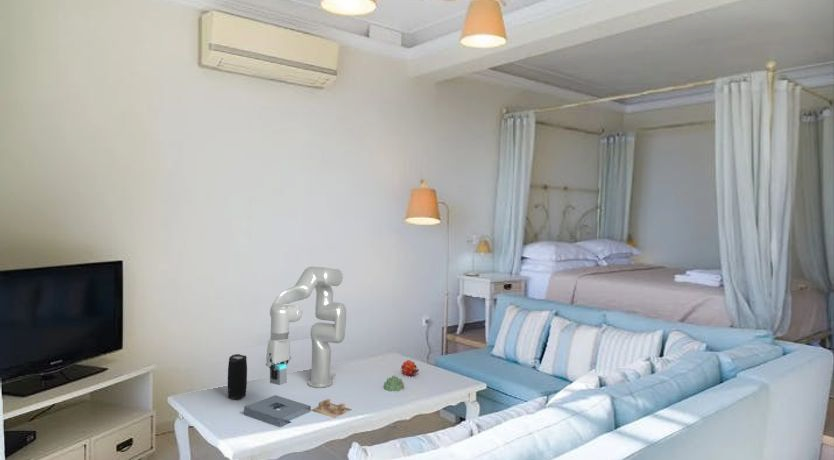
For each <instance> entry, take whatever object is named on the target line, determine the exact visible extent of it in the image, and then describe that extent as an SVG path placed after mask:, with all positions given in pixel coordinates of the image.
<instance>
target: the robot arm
mask: <svg viewBox="0 0 834 460" xmlns="http://www.w3.org/2000/svg"><path fill="white" fill-rule="evenodd" d="M342 272H343V271H341V270H340V269H338V268H330V267H324V266H322V267H321V266H308V267H306V268H305V269H304V271H303V272H302V273H301V275H300V277H299V278H298V280H297V282H296V283H295V284H294V285H293V286H292V287H290V288H287V289H286V290H285V291H283V292H282V293H280V294H278V295H277V297H276V298H275V299H274V301H273V303H272V305H271V306H270V308H269V316H270V339H268V342H267V343H268V344H267V349H266V358H265V359H266V361H265V366H266V367H268V368H269V370H270V369H271V378H272V379H275V380H276V379H277V371H278V370H277V364H278V363H281V364H286V366H287V367H288V364H289V362H290V361H291V359H292V357H291V356H292V355H291V343H290V338H289V334H290V330H289V327H290V326H289V324H290V323H295V322H298V321H299V320H300V319H301V318H302V316H303V309H302V307H301V306H299V305H297V304H292V303H294V302H299V301H303V300H305V299H308V298H309V297H311V295H312V293H313V291H316V293H315V294H316V295H315V296H316V297H315V313H314V314H315V318H316V319H317V320H320V321H330V322H334V323H330V322H320V321H319V322H315V323H313V324H312V326H311V328H310V338H311V369H310V370H311V374H310V375H311V379H309V380H308V381H307V385H308V386H310V387H311V388H317V389H318V388H319V389H322V388H329V387H331V386H332V385H334V380H332V378H333V377H336V375H337V374H336V372H332V373H331V361H332V359H331V358H332V357H331V355H332V349H331V346H330V344H331V343H332V344H341V343H343V341H344V340H345V336H346V324H347V307H346V305H345V304H344V303H341V302H337V301H336V302H334V291H333V288H332V287H338V286H340V284H342V282H343V278H344V277H343V273H342ZM274 364H275V365H274ZM273 365H274V366H273Z"/></svg>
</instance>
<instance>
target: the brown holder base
mask: <svg viewBox="0 0 834 460" xmlns="http://www.w3.org/2000/svg"><path fill="white" fill-rule="evenodd" d="M352 410H353V409H352V408H348V407H346V403H343V402H342V403H339V404H335V403H332V402H331V399H329V398H327V399H325V400H322V401H320V402H318V407H315V408H313V409H311V412H314V413H317V414H321V415H324V416H327V417H331V418H333V419H335V418H338V417H339V416H343V415H345V414H346V413H348V412H351V411H352Z"/></svg>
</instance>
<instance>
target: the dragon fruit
mask: <svg viewBox="0 0 834 460" xmlns="http://www.w3.org/2000/svg"><path fill="white" fill-rule="evenodd" d="M400 369H401V373H402V374H403V375H406V377H409V376H410V375H411V376H410V377H409V378H411V377H412V375H413V376H415V375H416V373H419V370H420V369H418V367H417V365H416V363H415V362H414V361H412V360H410V359H408V360H405V361H404V362H403V363H402V364H401V368H400Z"/></svg>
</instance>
